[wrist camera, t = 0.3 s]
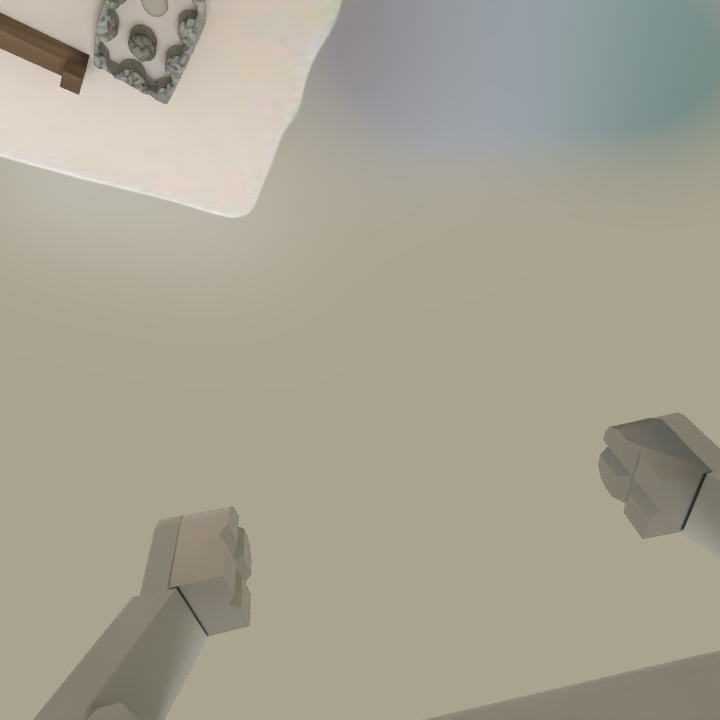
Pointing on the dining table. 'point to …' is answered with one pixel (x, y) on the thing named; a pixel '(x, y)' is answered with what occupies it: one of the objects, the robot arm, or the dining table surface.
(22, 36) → the walled channel
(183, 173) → the dining table surface
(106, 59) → the egg carton
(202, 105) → the dining table surface
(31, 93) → the dining table surface
